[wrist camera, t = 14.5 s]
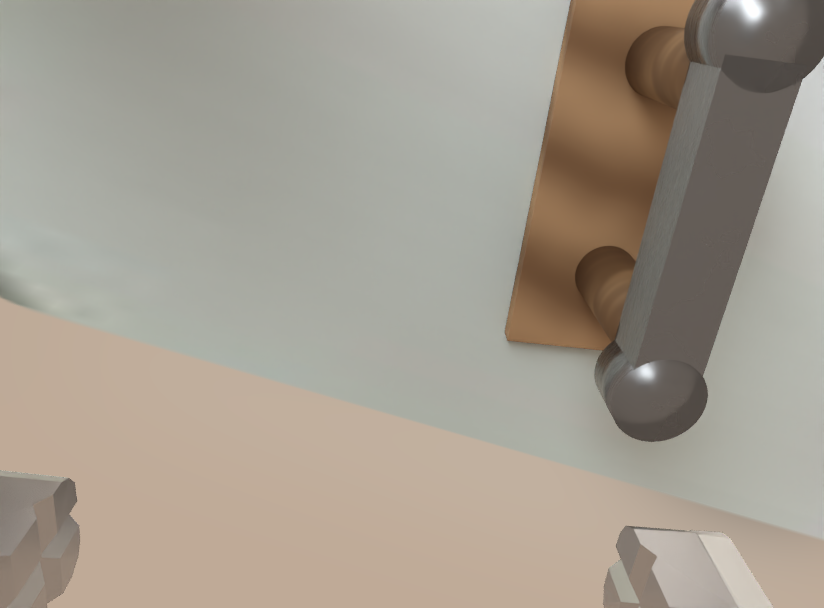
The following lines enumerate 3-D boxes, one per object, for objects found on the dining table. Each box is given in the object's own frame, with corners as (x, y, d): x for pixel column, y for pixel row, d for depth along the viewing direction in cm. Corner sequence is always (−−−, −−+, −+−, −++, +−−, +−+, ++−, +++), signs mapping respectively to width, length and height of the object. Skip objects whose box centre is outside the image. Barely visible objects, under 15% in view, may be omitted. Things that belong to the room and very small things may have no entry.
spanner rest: (581, -56, 35) (641, -72, 27) (770, -29, 36) (885, -36, 27) (504, 331, 44) (530, 411, 35) (657, 347, 45) (718, 429, 36)
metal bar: (701, -40, 27) (736, -44, 24) (808, -25, 27) (854, -27, 25) (585, 403, 35) (601, 437, 33) (669, 411, 36) (692, 445, 33)
